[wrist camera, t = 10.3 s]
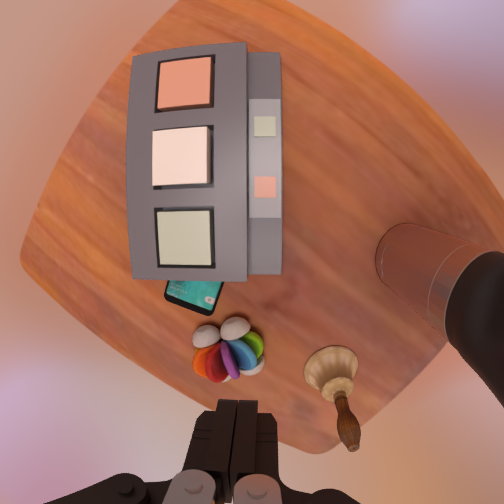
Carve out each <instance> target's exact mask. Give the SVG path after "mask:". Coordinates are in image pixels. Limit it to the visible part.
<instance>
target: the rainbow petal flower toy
mask: <svg viewBox="0 0 504 504" xmlns="http://www.w3.org/2000/svg"><path fill="white" fill-rule="evenodd" d="M249 330H250V324H249V323H248V322H247V321H246V320H245V319H243V318H241V317H231V318H229V319H227V320H226V321H225V322H224V323H223V324H222V326H221V330H219V329H217V328H216V327H214V326H212V325H203V326H201V327H199V328H198V329H197V330H196V331H195V332H194V334H193V345H194V346H195V347H196V349H195V355H194V358H193V363H192V364H193V369H194V371H195V372H196V373H197V374H198V375H200V376H202V377H206V378H209V379H210V380H211V381H213V382H216V383H219V382H226V381H228V380H230V379H231V378H233V379H238V378H239V377H240V373H242V374H244V375H255V374H257V373H258V372H260V371H261V370H262V368H263V366H264V362H265V360H264V356H263V355H262V352H263V348H264V343H263V340H262V339H261V337H260V336H259V335H257V334H256V333H254V332H251V331H249ZM221 337H222V339H224V341H221V340H220V338H221Z"/></svg>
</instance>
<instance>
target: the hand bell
mask: <svg viewBox="0 0 504 504" xmlns="http://www.w3.org/2000/svg"><path fill="white" fill-rule="evenodd" d="M357 368H358V360H357V357H356V355H355V354H354V352H353V351H351V350H350V349H348V348H346V347H343V346H330V347H326V348H323V349H321V350H319V351H317V352H316V353H314V354H313V355H312V356H311V357H310V358H309V359H308V361H307V362H306V364H305V367H304V378H305V380H306V382H307V383H308V384H309V385H310V386H311V387H313V388H315V389H317V390H320V391H321V393H322V396H323V397H324V398H325V399H326V400H328V401H331V402H335V405H336V408H337V412H338V419H337V430H338V434H339V437H340V439H341V441H342V442H343V443H344V444H345V446H346V447H347V449H348V451H350V452H354V451H356V450H358V449H359V443H360V436H361V430H360V426H359V423H358V421H357V419H356V417H355V416H354V414H353V413H352V412H351V411H350V409H349V405H348V401H347V397H348V396H349V395H350V394H351V393H352V391H353V387H354V385H353V377H354V376H355V374H356V372H357Z"/></svg>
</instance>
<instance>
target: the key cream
mask: <svg viewBox="0 0 504 504" xmlns="http://www.w3.org/2000/svg"><path fill="white" fill-rule="evenodd" d="M202 183H211V130H210V129H209V128H208V127H192V128H180V129H170V130H160V131H153V143H152V186H154V185H178V184H202Z"/></svg>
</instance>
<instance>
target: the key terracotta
mask: <svg viewBox="0 0 504 504" xmlns="http://www.w3.org/2000/svg"><path fill="white" fill-rule="evenodd" d="M213 91H214V63H213V61H212V59H211V57H205V58H195V59H187V60H179V61H172V62H165V63H161V66H160V78H159V92H158V109H159V110H161V111H162V112H170V111H180V110H190V109H202V108H213Z"/></svg>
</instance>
